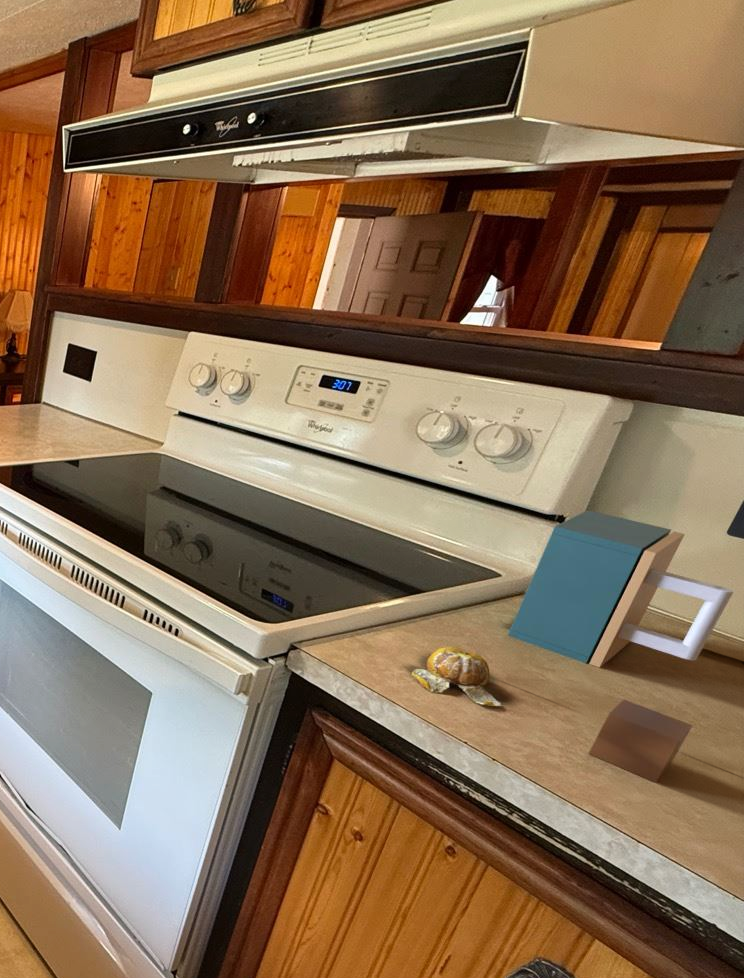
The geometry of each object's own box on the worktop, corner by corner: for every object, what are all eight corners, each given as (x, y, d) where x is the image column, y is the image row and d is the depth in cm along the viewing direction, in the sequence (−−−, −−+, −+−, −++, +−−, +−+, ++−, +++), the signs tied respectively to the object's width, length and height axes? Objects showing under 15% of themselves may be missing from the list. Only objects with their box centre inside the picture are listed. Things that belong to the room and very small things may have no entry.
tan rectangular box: (701, 665, 92) (764, 552, 86) (674, 694, 85) (741, 574, 79) (619, 638, 98) (673, 531, 92) (589, 664, 91) (644, 550, 85)
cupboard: (616, 638, 98) (671, 529, 92) (585, 664, 91) (642, 548, 85) (541, 613, 104) (587, 510, 98) (507, 636, 98) (554, 526, 92)
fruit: (411, 685, 85) (421, 658, 84) (411, 656, 92) (421, 631, 90) (501, 712, 81) (514, 685, 80) (495, 680, 87) (507, 654, 86)
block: (669, 765, 73) (693, 725, 71) (656, 783, 71) (679, 741, 69) (603, 738, 77) (623, 699, 75) (588, 753, 75) (608, 713, 73)
